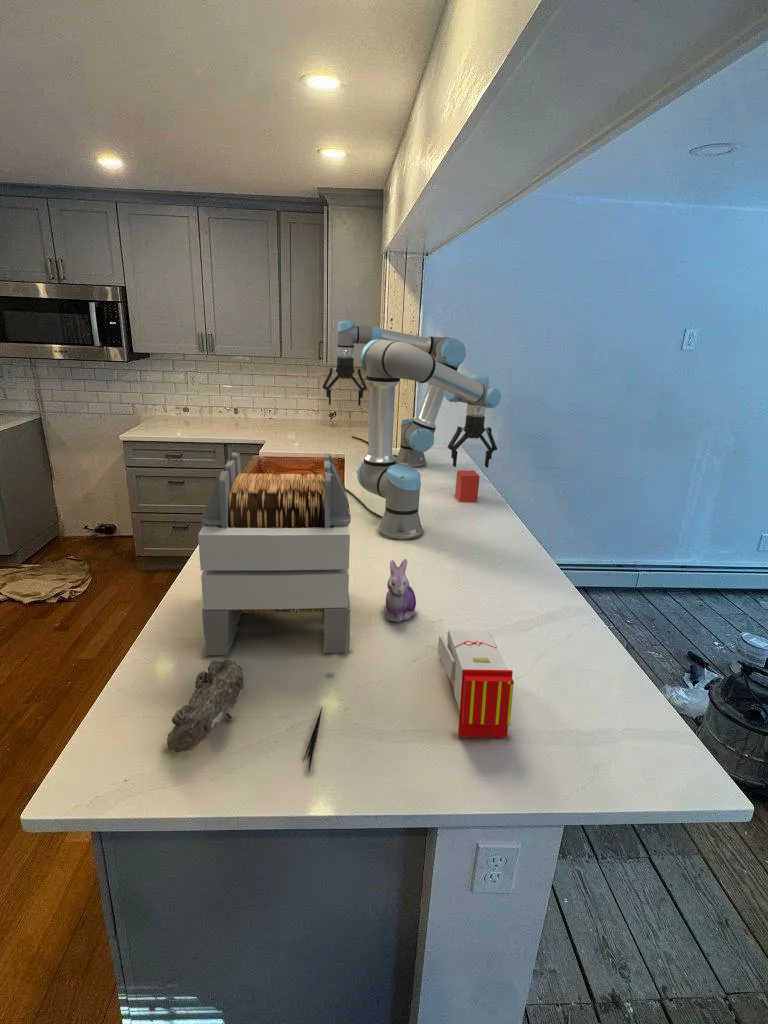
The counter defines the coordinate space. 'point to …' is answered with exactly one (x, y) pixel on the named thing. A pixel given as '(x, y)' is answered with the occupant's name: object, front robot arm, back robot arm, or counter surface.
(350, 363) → the back robot arm
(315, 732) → the feather
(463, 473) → the block
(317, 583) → the record crate stand
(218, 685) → the grey elongated lump
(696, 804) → the counter surface
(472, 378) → the front robot arm
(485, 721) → the toy
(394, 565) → the figurine
